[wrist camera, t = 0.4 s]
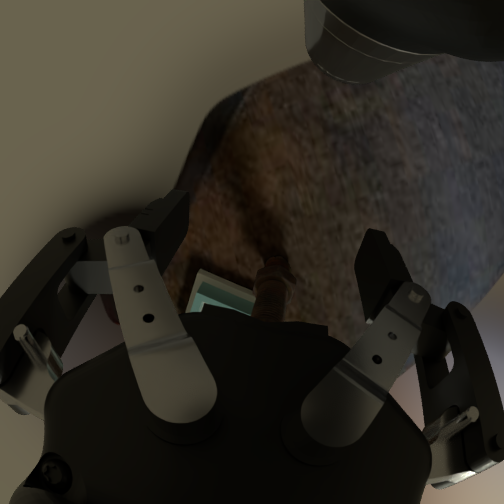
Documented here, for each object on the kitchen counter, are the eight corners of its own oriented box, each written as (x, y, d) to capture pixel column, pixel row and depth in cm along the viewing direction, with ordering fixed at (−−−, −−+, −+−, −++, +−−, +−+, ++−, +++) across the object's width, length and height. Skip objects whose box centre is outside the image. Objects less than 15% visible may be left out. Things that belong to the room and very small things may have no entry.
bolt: (262, 286, 37) (237, 379, 24) (249, 253, 35) (214, 340, 22) (306, 278, 35) (300, 373, 22) (295, 242, 33) (284, 332, 20)
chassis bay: (200, 268, 37) (191, 283, 34) (283, 303, 38) (281, 320, 35) (177, 341, 45) (170, 355, 42) (243, 368, 46) (239, 384, 43)
